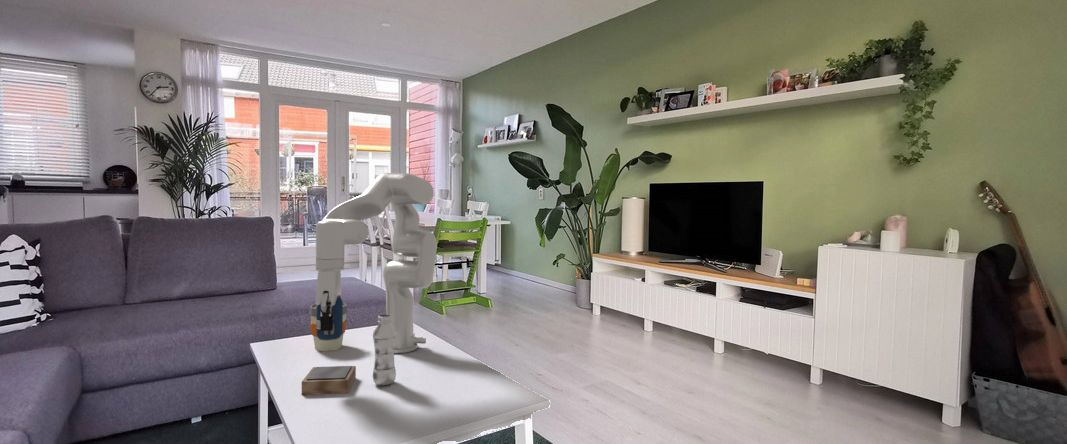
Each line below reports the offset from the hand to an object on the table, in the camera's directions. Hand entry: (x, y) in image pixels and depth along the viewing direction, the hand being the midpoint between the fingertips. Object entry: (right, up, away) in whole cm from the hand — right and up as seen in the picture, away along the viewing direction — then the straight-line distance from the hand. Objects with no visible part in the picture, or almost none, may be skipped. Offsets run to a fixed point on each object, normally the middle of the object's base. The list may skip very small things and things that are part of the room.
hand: (329, 326), depth 146 cm
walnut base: (0, -17, +1) cm, 17 cm away
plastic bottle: (+14, -18, +3) cm, 23 cm away
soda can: (0, -3, 0) cm, 3 cm away
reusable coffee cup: (-15, -15, +38) cm, 44 cm away
